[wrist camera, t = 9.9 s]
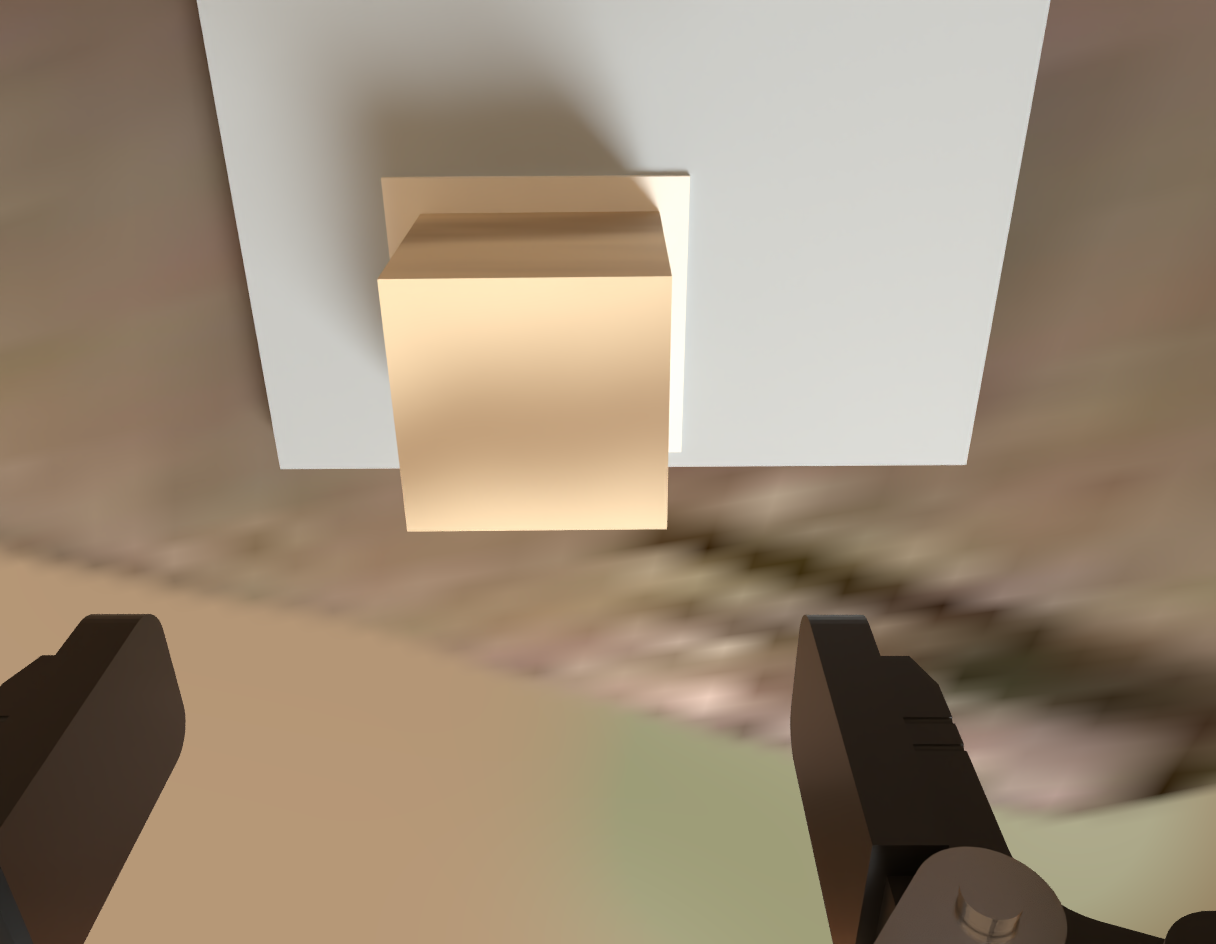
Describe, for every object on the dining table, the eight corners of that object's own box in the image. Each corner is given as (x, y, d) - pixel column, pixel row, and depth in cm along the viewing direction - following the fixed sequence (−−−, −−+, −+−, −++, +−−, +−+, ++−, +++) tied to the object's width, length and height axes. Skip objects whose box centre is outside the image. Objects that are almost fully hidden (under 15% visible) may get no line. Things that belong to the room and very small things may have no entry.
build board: (208, -46, 22) (186, -44, 21) (1037, -51, 22) (1062, -50, 21) (292, 448, 28) (278, 471, 26) (952, 444, 28) (967, 467, 26)
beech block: (420, 213, 23) (377, 278, 19) (659, 211, 23) (672, 276, 19) (441, 429, 26) (407, 531, 21) (656, 427, 26) (666, 529, 21)
